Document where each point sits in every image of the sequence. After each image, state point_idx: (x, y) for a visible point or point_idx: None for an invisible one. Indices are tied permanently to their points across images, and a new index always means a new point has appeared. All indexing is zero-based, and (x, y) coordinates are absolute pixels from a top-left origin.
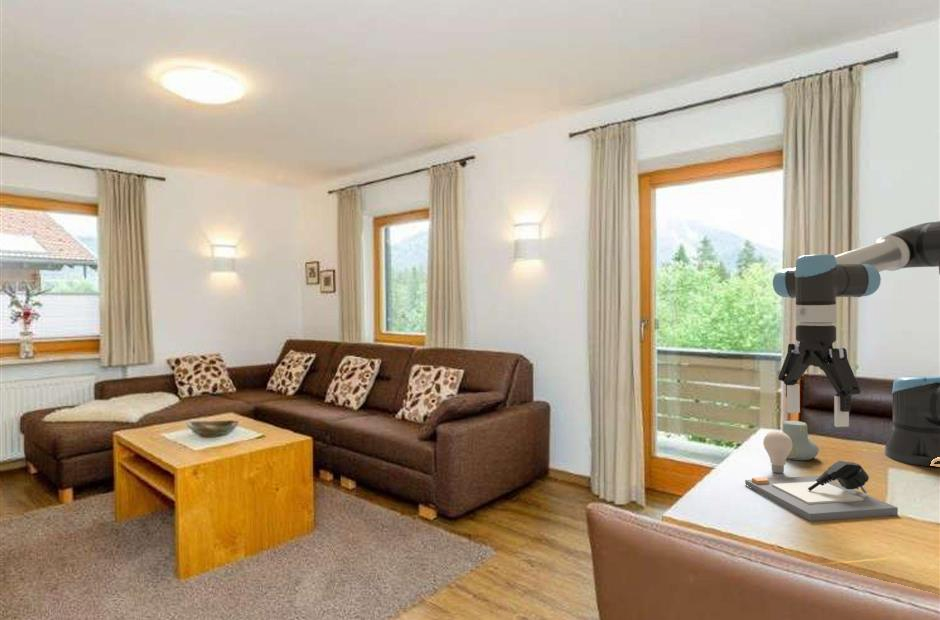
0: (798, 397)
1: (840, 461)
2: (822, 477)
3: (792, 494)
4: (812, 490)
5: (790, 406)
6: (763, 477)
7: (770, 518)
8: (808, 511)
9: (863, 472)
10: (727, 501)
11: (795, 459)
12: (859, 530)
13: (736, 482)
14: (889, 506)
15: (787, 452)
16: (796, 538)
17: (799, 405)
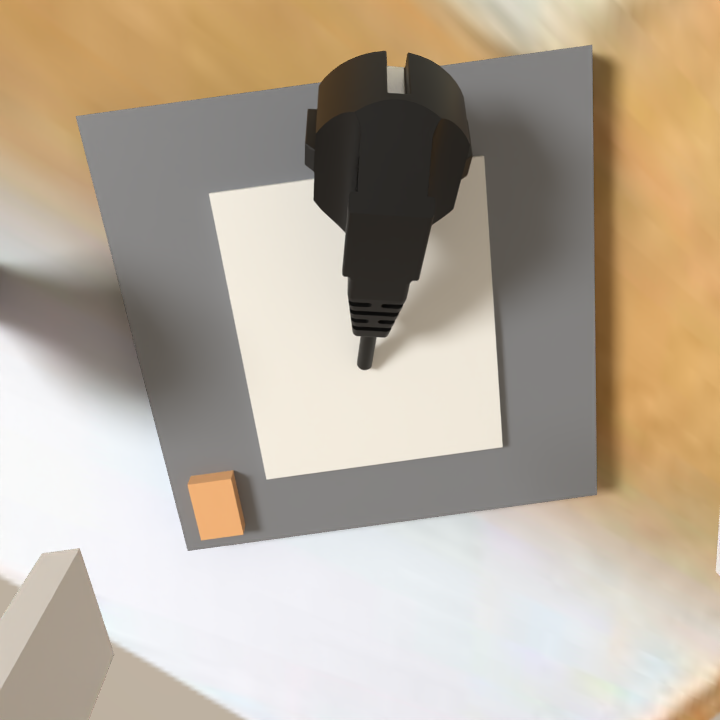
0: (6, 713)
1: (370, 216)
2: (379, 321)
3: (404, 459)
4: (358, 341)
5: (86, 705)
6: (192, 486)
7: (541, 594)
8: (575, 487)
9: (459, 115)
10: (371, 663)
11: None
12: (691, 350)
13: (140, 545)
14: (573, 78)
15: None
16: (702, 593)
17: (48, 610)
